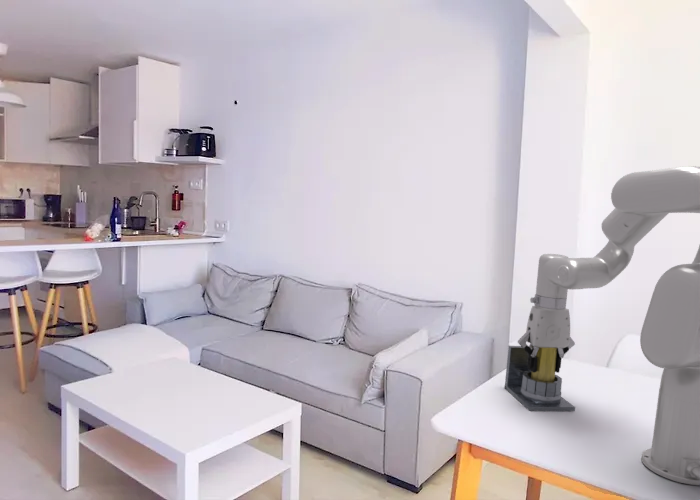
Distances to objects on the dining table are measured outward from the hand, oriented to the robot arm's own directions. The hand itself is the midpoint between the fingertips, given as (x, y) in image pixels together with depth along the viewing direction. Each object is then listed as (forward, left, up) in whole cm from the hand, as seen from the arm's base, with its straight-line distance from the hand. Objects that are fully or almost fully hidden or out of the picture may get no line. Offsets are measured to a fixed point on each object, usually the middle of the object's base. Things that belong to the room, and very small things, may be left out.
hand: (543, 370), depth 138 cm
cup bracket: (0, 0, -8) cm, 8 cm away
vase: (0, 0, -4) cm, 4 cm away
